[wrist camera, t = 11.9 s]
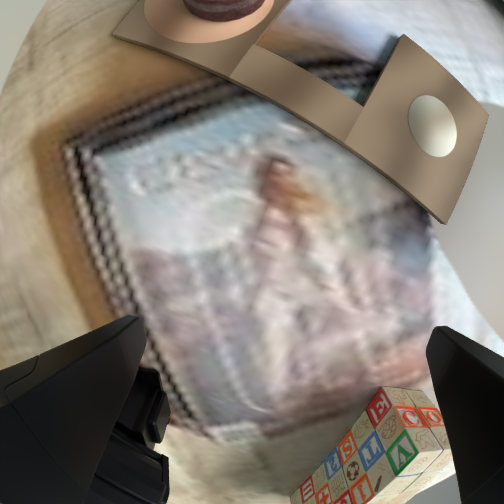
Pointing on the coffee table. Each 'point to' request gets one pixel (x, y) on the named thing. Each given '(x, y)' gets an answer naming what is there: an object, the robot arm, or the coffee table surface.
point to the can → (222, 9)
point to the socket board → (337, 97)
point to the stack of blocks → (382, 454)
